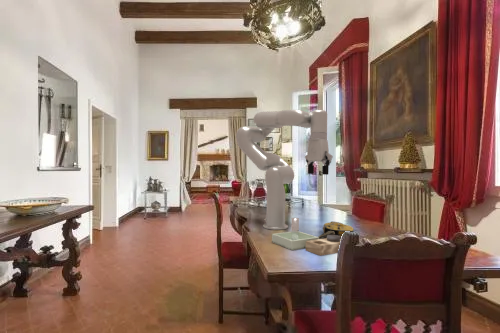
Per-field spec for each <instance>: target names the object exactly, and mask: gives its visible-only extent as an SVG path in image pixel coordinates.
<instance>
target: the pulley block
mask: <svg viewBox="0 0 500 333" xmlns="http://www.w3.org/2000/svg"><path fill="white" fill-rule="evenodd" d="M322 231H323V232H322V234H319V235H318V236H317V237H319V239H324V238H327V235H338V236H340V239H342V238H341V236H342V234H343V233H344V232H345V231H350V232H353V233H354V232H356V231H357V229H355V230H354V227H353V226H351V225H348V224H344V223H341V222H339V221H330V222H325V223H324V224H323V226H322Z"/></svg>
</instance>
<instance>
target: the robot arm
mask: <svg viewBox="0 0 500 333" xmlns="http://www.w3.org/2000/svg"><path fill="white" fill-rule="evenodd" d="M253 124H254V125H255V126H256V127H255V126H249V125H245V126H240V127H239V128H238V129H237V131H236V133H235V134H236V135H235V139H236V143H237V146H238V148H239V149H240V150H241V151H242V152H243V153H244V155H246V157H248V158H249V160H250V161H251V162H252V163H253V165H255V166H256V168H257V169H259V170H260V171H263V172H264V171H265V173H264V175H265V177H264V179H265V185H266V216H265V218H263V220H264V221H265V223H264V224H263V229H267V230H275V231H276V230H277V231H278V230H287V229H288V228H289V225H288V224H286V189H285V186H284V185H286V184H291V183H292V182H293V181H294V179H295V172H294V170H293V168H292V166H290V164H288V163H287V162H286V161H285V160H284V159H283V158H282V157H281V156H280V155H279V154H276V153H273V152H270V153H269V152H266V151H265V150H264V149H262V147H261V146H260V145H258V144H257V143H261V142H263V141H264V140H265V139H266V138H267V137H268V136H269V135H270V134H271V133H272V132H273V131H274V130H275V129H282V128H283V127H284V126H286V127H289V126H290V127H291V126H292V127H300V128H303V129H304V128H306V129H309V128H310V132H309V133H310V135H309V138H310V139H309V141H308V146H307V154H306V155H304V159H305V162H306V165H307V174H311V175H312V174H314V173H315V165H314V164H315V162H321V163H322V168H321V169H322V170H321V171H322V172H321V173H322V175H323V176H325V175H327V176H328V175H329V169H330V168H329V166H330V164H331V163H332V159H333V155H332V154H331V153H330V152H329V141H328V140H327V139H328V112H327V111H326V110H324V109H316V110H312V111H311V112H308V111H305V110H301V109H283V110H278V111H259V112H257V113H255V114H254V116H253Z"/></svg>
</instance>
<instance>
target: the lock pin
mask: <svg viewBox="0 0 500 333" xmlns="http://www.w3.org/2000/svg"><path fill="white" fill-rule="evenodd" d="M290 224H291V226H290V227H291V228H290V229H291V231H290V232H291V240H292V241H293V240H299V230H300V218H299V217H291V223H290Z"/></svg>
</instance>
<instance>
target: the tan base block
mask: <svg viewBox="0 0 500 333" xmlns="http://www.w3.org/2000/svg"><path fill="white" fill-rule="evenodd" d="M341 240H342V239H341V238H340V236H338V235H327V238H324V239H317V240H310V241H306V248H305V251H307V252H309V253H311V254H315V255H317V256H325V255H332V254H337V252H338V249H339V245H340V241H341Z"/></svg>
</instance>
